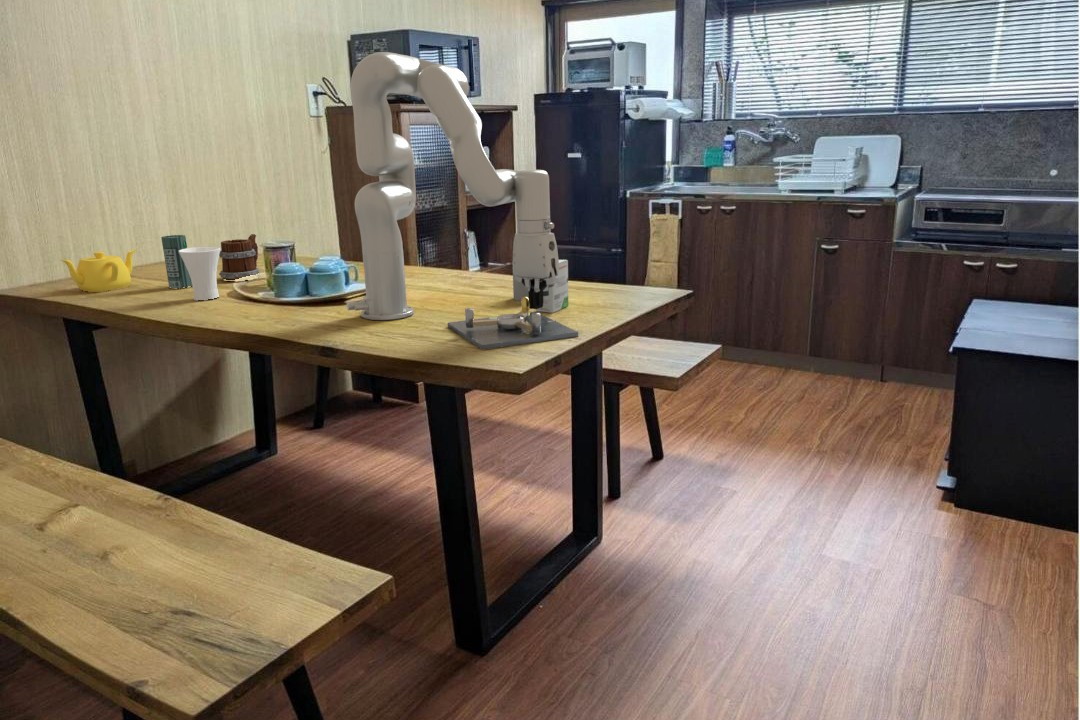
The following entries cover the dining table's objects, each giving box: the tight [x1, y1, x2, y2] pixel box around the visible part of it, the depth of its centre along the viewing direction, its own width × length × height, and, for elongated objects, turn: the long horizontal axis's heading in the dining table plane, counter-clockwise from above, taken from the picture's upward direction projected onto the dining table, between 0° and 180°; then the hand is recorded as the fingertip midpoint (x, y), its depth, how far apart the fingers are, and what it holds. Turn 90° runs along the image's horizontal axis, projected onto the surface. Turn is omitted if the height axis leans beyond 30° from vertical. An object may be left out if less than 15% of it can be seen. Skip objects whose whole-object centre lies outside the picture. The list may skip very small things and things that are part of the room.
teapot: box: [60, 249, 137, 293], centre depth 230 cm, size 22×16×11 cm
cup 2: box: [512, 260, 529, 303], centre depth 205 cm, size 8×8×10 cm
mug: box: [218, 233, 261, 280], centre depth 242 cm, size 12×14×15 cm
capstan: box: [464, 297, 542, 333], centre depth 174 cm, size 15×17×5 cm
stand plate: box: [447, 311, 579, 350], centre depth 173 cm, size 22×22×1 cm
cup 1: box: [179, 246, 221, 301], centre depth 213 cm, size 10×10×14 cm
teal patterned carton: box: [161, 234, 193, 288], centre depth 229 cm, size 6×6×15 cm
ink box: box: [536, 259, 569, 314], centre depth 192 cm, size 9×5×12 cm, turn 151°
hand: (536, 307), depth 179 cm, fingers closed
